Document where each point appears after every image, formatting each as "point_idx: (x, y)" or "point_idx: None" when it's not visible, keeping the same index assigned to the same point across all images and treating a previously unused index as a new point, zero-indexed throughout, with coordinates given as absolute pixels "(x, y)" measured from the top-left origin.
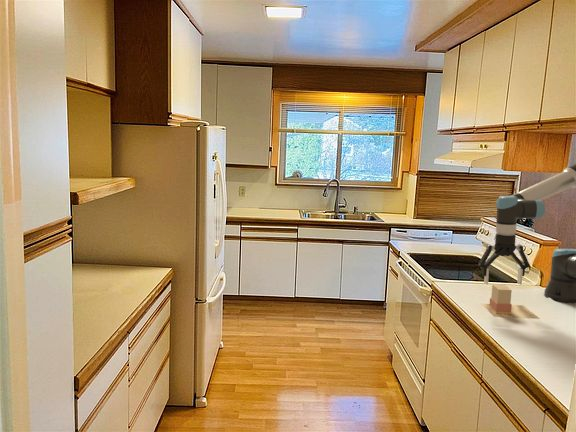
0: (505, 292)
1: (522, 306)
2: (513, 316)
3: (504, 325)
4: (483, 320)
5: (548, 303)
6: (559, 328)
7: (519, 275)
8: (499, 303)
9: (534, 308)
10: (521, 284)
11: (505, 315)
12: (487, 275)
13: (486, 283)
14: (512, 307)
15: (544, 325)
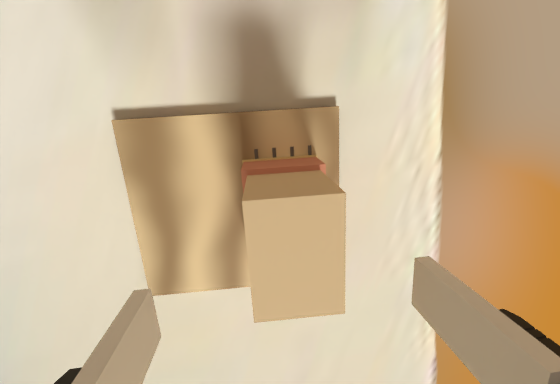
0: (287, 192)
1: (159, 279)
2: (241, 126)
3: (318, 2)
4: (397, 62)
5: (28, 360)
6: (37, 6)
7: (120, 373)
8: (309, 171)
9: (106, 283)
10: (136, 290)
11: (276, 133)
12: (483, 306)
13: (431, 259)
14: (210, 256)
15: (109, 42)
